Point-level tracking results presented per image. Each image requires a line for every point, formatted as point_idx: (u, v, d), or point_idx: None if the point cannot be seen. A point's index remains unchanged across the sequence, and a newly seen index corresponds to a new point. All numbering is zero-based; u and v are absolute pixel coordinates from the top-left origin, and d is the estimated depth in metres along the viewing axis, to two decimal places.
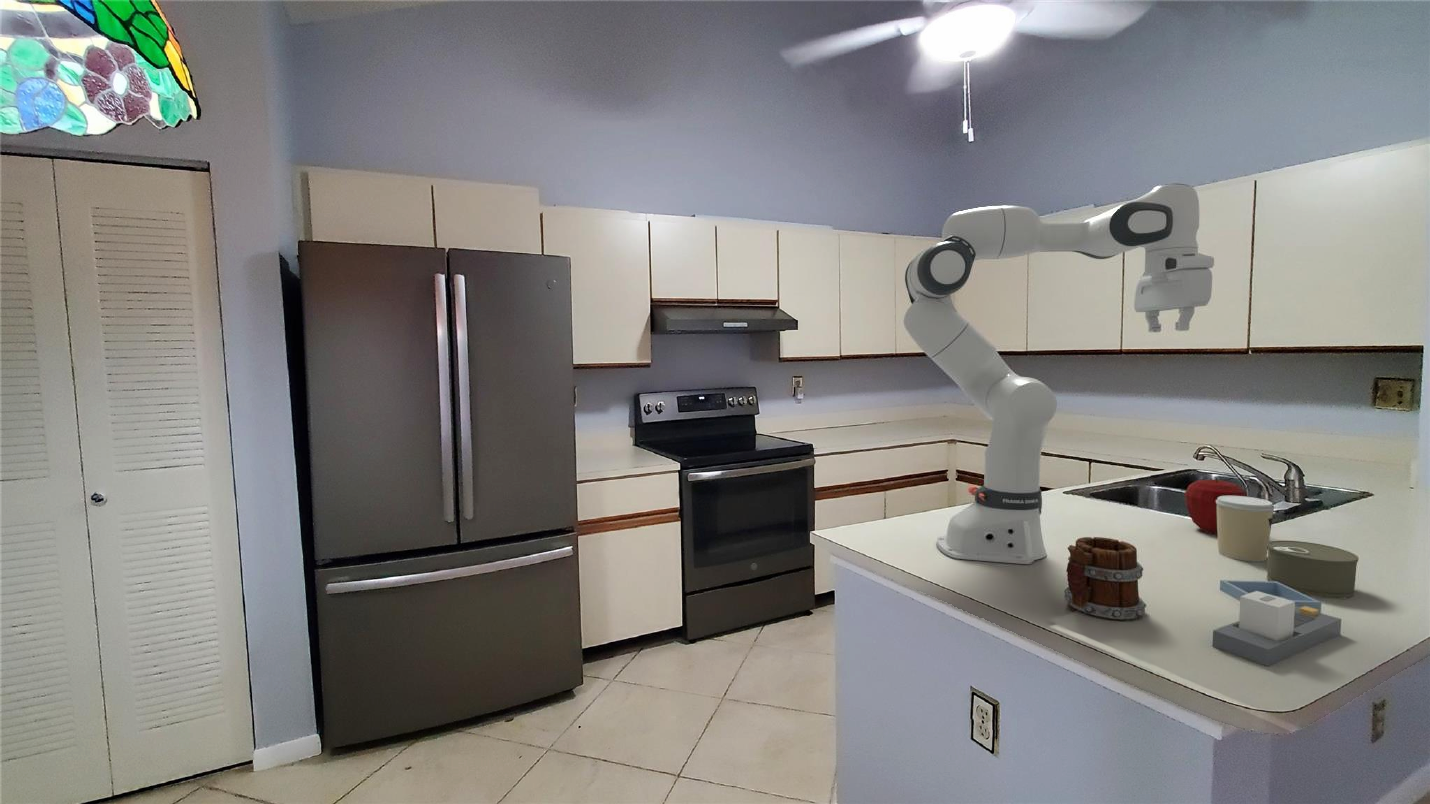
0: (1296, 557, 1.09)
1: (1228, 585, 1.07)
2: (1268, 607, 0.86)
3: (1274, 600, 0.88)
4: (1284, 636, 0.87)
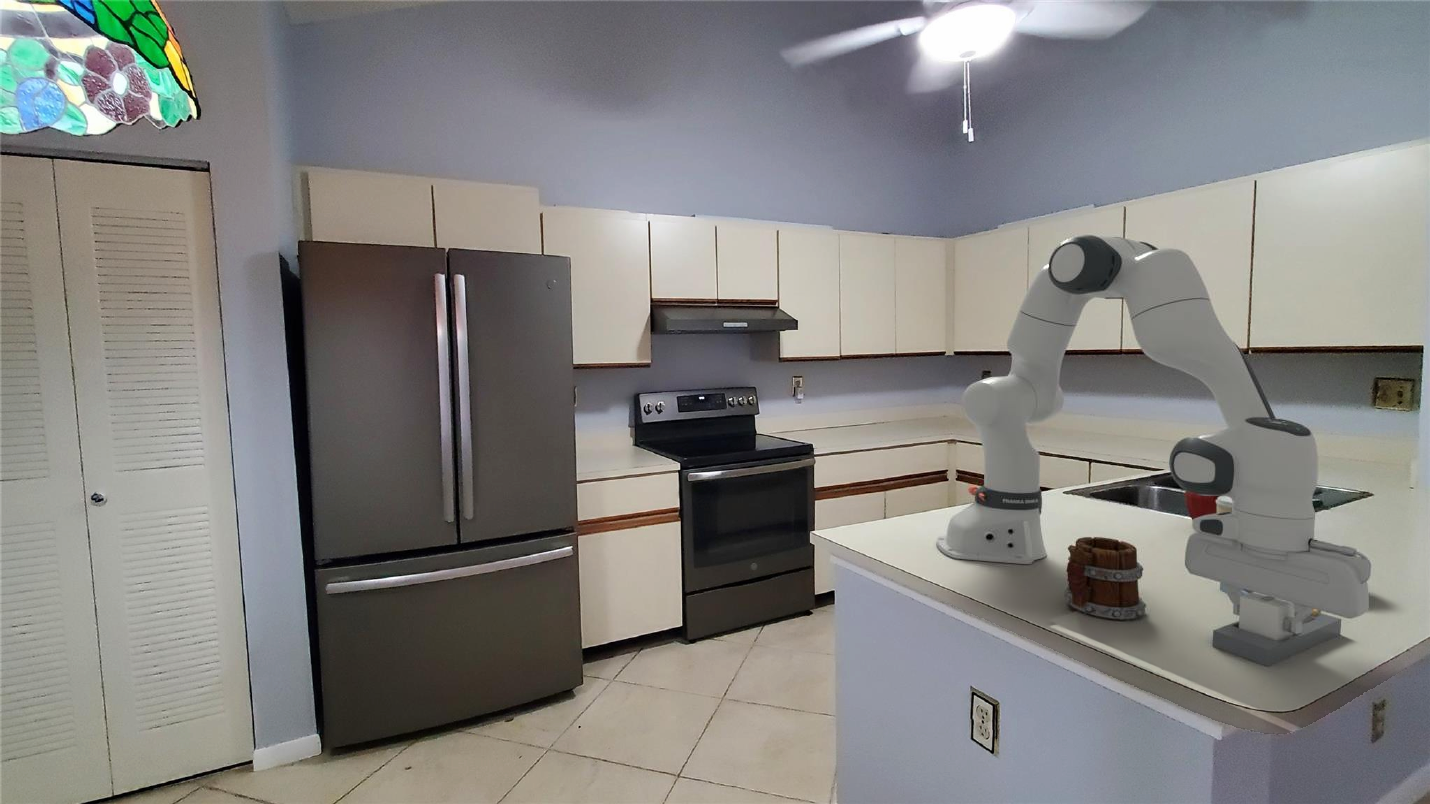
0: None
1: None
2: (1268, 607, 0.86)
3: (1274, 600, 0.88)
4: (1284, 636, 0.87)
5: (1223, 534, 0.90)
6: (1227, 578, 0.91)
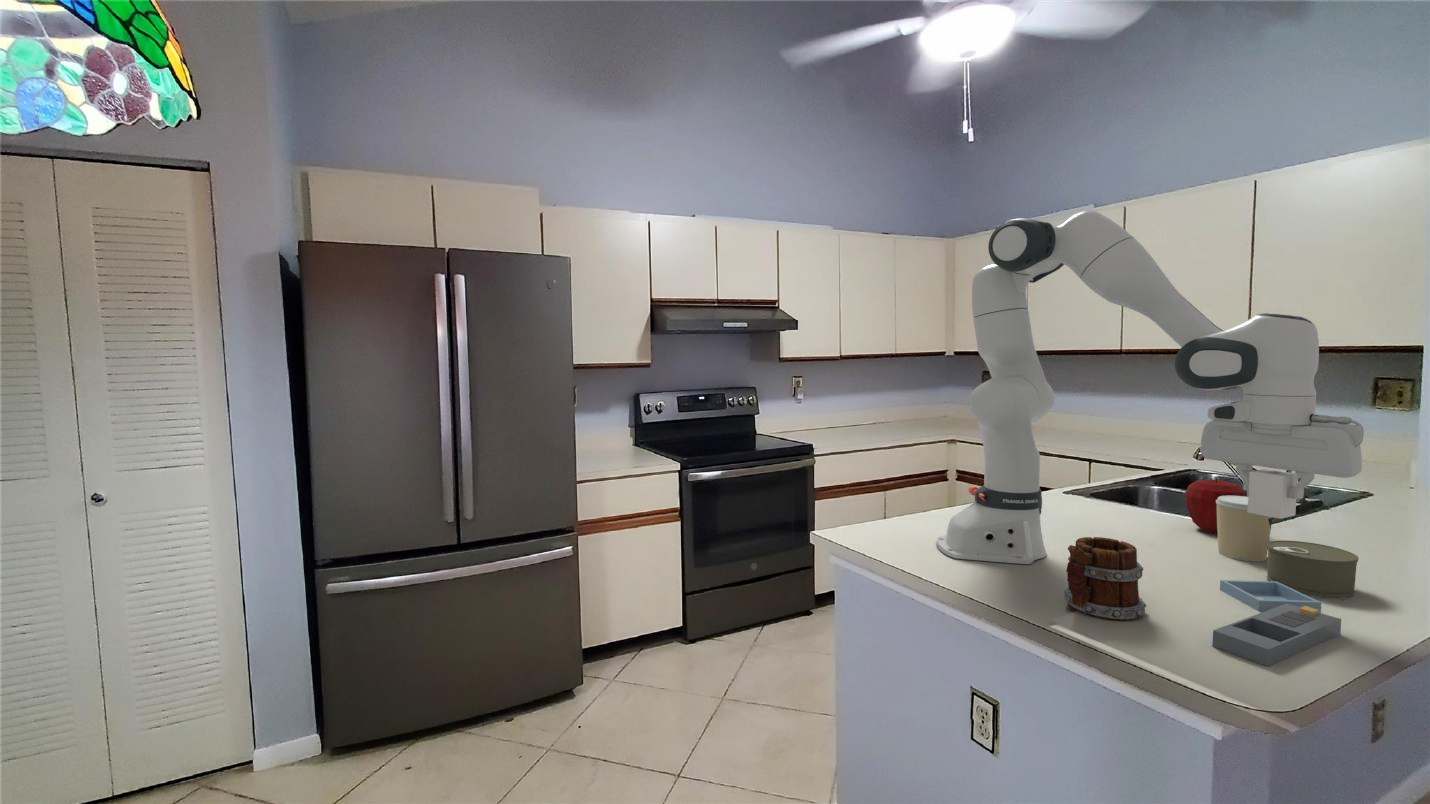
0: (1296, 557, 1.09)
1: (1228, 585, 1.07)
2: (1274, 477, 0.99)
3: (1280, 473, 1.00)
4: (1288, 502, 0.99)
5: (1235, 417, 1.02)
6: (1238, 457, 1.04)
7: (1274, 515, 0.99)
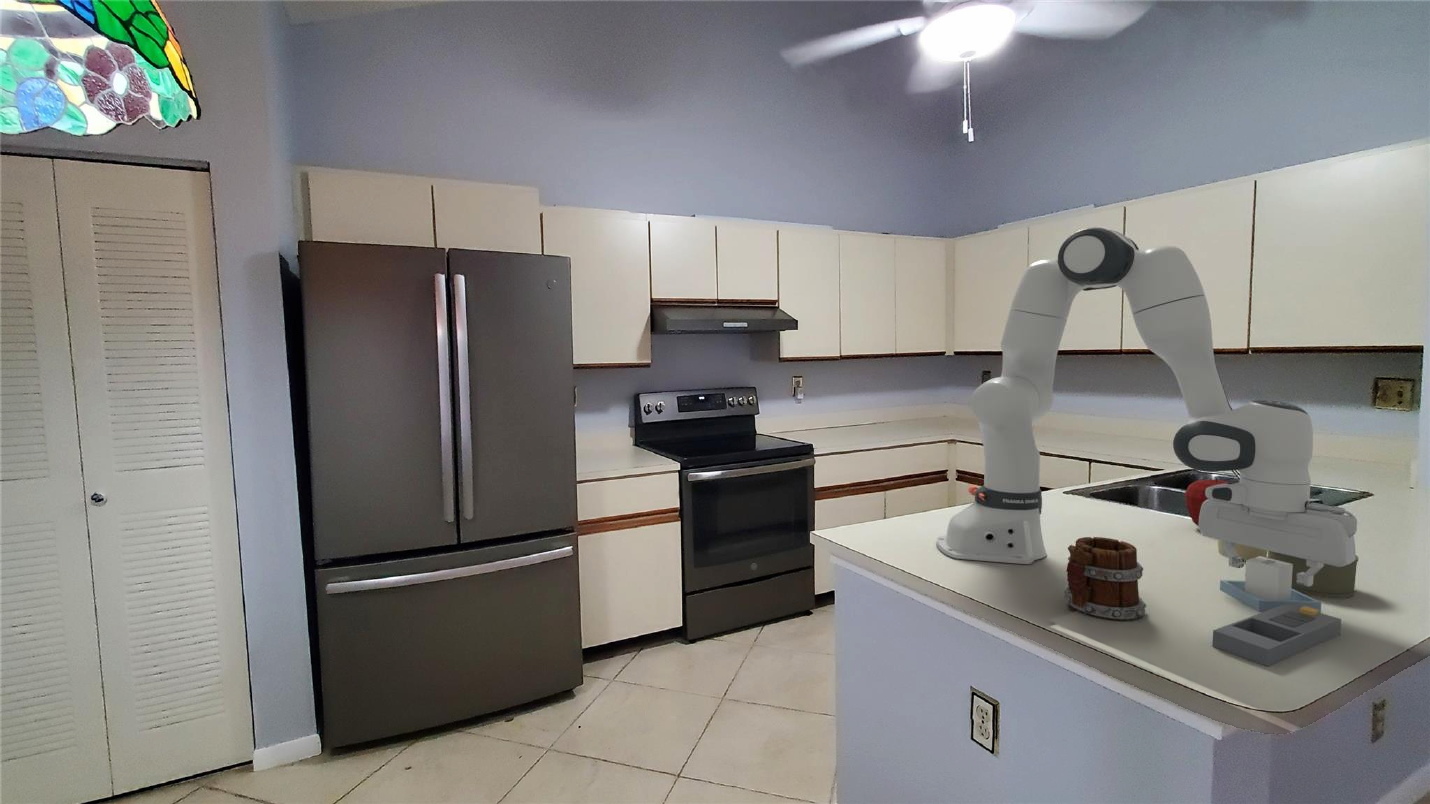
0: (1296, 557, 1.09)
1: (1228, 585, 1.07)
2: (1270, 568, 1.02)
3: (1275, 563, 1.03)
4: (1283, 593, 1.02)
5: (1232, 500, 1.05)
6: (1235, 538, 1.06)
7: None
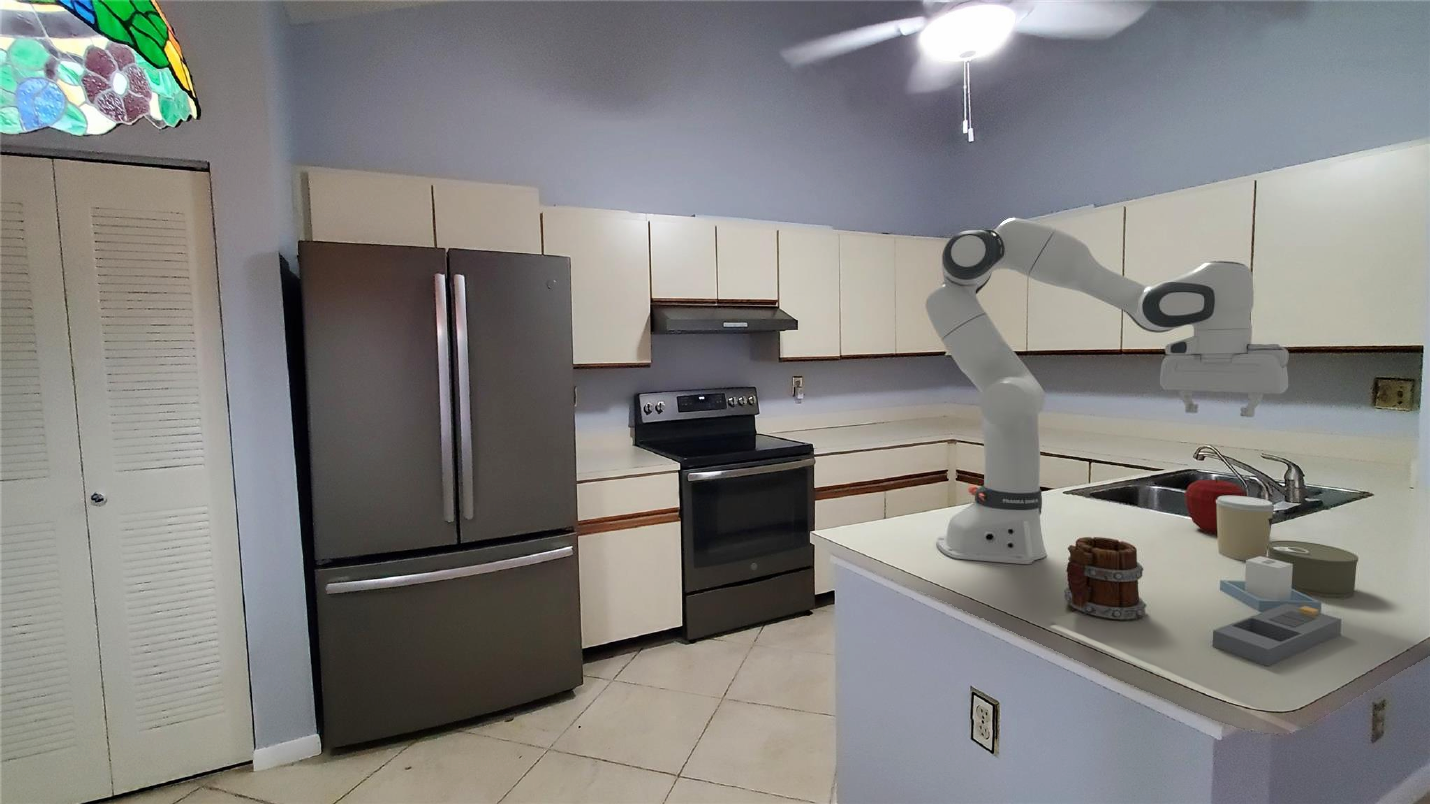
0: (1296, 557, 1.09)
1: (1228, 585, 1.07)
2: (1270, 568, 1.02)
3: (1275, 563, 1.03)
4: (1283, 593, 1.02)
5: (1187, 351, 1.22)
6: (1190, 385, 1.23)
7: None
